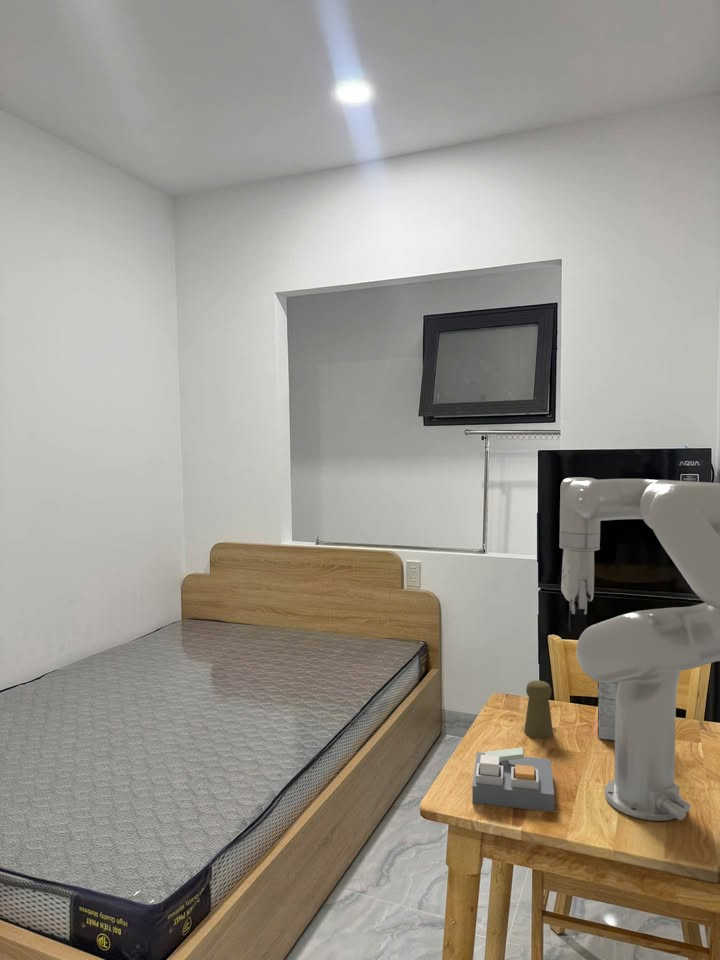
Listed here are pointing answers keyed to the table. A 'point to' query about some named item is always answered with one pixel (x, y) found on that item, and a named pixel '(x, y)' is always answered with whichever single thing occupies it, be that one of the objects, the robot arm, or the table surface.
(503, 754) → the block
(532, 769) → the orange button
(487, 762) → the cream button
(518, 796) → the switch panel
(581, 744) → the table surface
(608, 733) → the candy bar box
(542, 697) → the cork
